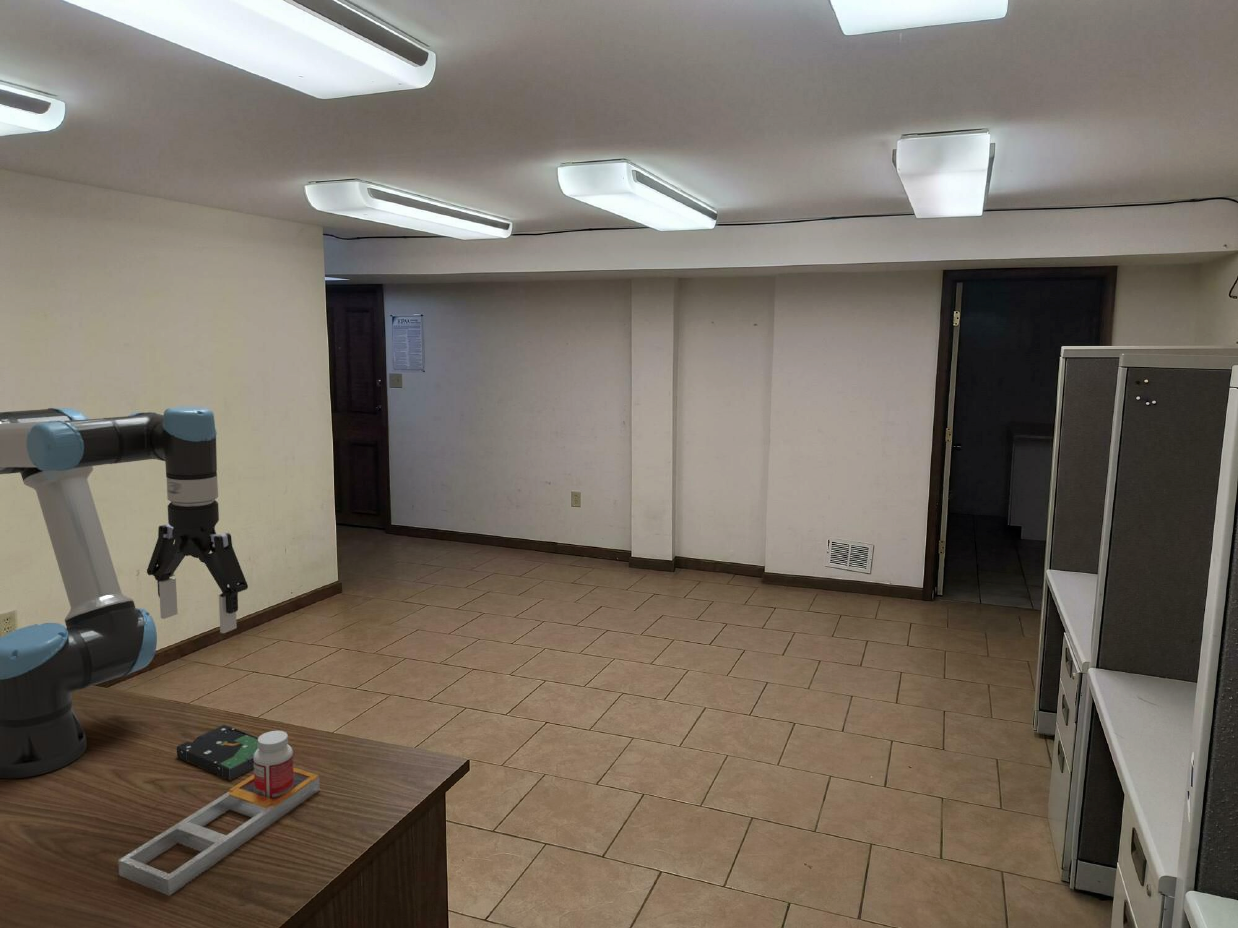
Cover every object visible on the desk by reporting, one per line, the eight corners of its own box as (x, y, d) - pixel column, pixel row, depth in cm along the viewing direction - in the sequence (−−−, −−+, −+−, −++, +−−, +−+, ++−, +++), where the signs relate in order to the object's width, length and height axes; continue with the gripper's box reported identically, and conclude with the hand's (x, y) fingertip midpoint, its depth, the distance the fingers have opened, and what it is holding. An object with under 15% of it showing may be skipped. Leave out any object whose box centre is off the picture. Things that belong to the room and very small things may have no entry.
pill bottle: (299, 787, 147) (297, 728, 145) (286, 807, 141) (285, 746, 139) (262, 786, 146) (261, 727, 144) (248, 807, 140) (246, 745, 138)
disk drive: (175, 760, 154) (231, 783, 148) (174, 746, 154) (230, 768, 147) (224, 737, 164) (278, 757, 157) (224, 723, 163) (278, 743, 156)
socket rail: (119, 875, 122) (118, 858, 122) (274, 775, 150) (274, 761, 149) (169, 895, 119) (168, 877, 118) (319, 789, 146) (319, 775, 146)
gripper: (118, 495, 140) (126, 617, 144) (231, 515, 131) (236, 644, 135) (158, 488, 147) (164, 604, 151) (268, 506, 138) (271, 629, 142)
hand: (198, 623), depth 143 cm, fingers open, 13 cm apart
